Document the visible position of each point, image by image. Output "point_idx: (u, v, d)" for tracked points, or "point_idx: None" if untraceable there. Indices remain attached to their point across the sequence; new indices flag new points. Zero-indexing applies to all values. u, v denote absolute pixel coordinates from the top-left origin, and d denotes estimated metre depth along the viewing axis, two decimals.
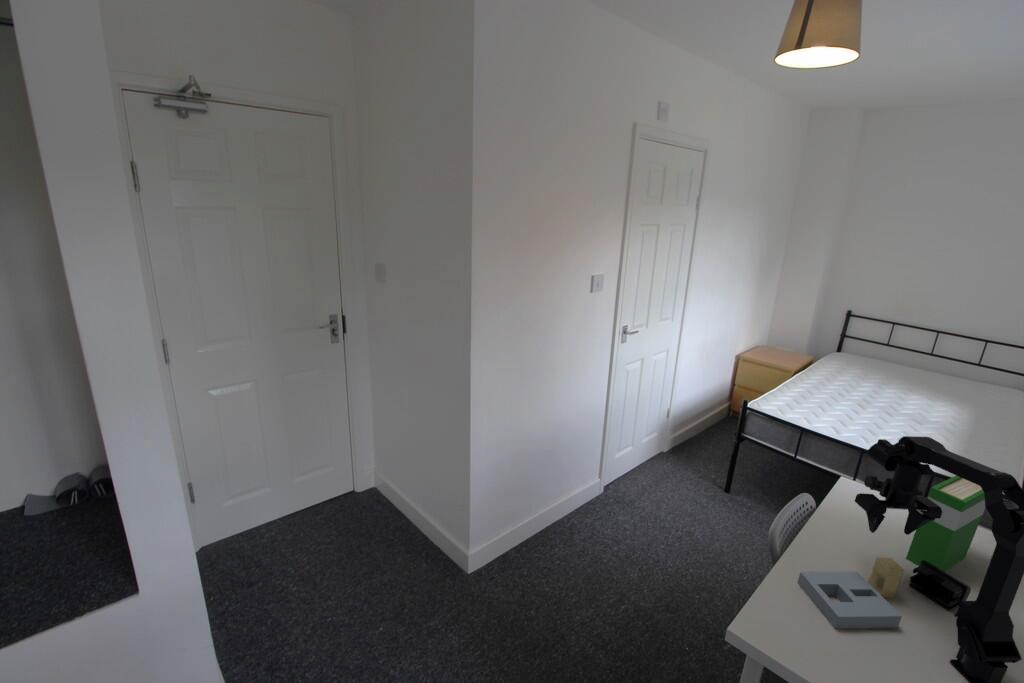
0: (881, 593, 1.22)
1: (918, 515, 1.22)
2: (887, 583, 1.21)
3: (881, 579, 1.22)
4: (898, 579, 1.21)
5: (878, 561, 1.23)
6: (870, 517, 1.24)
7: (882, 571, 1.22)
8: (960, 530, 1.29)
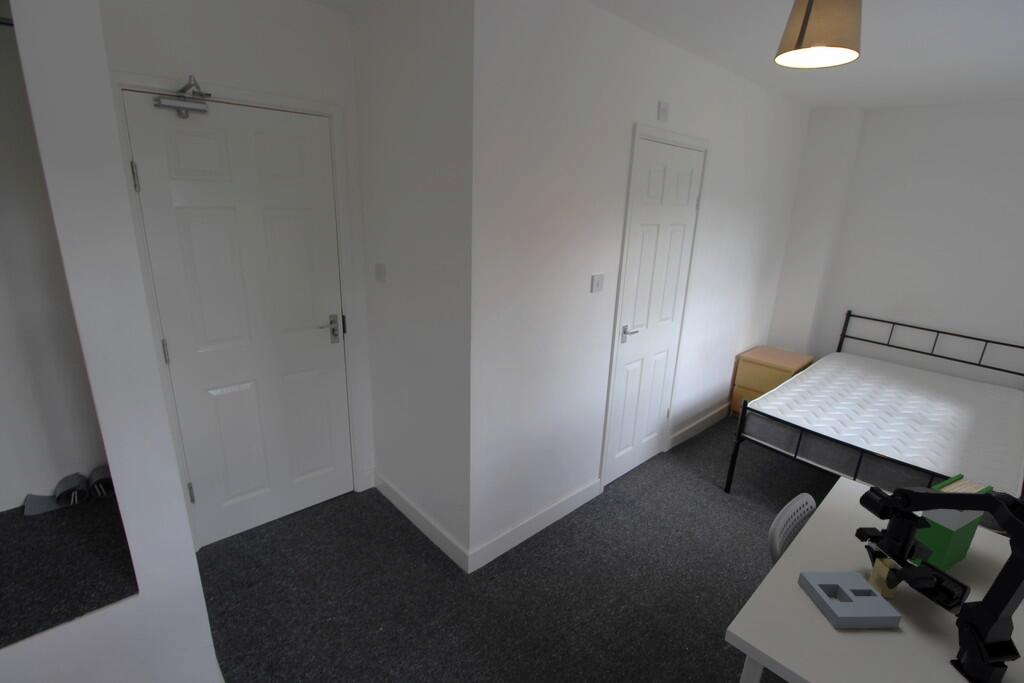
0: (881, 593, 1.22)
1: None
2: (887, 583, 1.21)
3: (881, 579, 1.22)
4: None
5: (878, 561, 1.23)
6: None
7: (882, 571, 1.21)
8: (960, 530, 1.29)
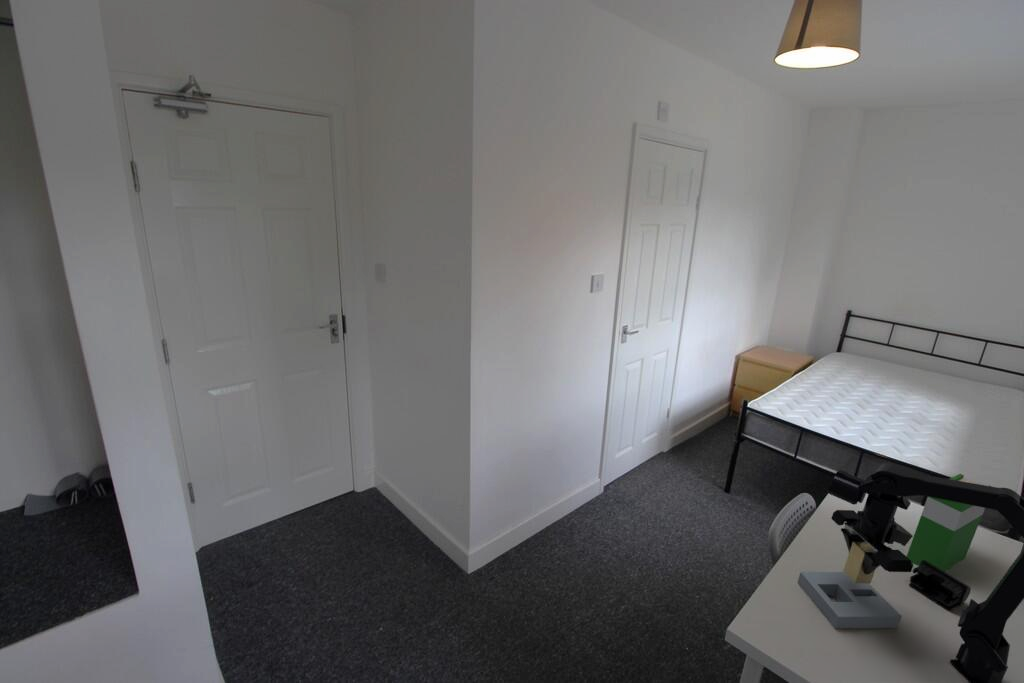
0: (857, 579, 1.15)
1: None
2: (863, 568, 1.14)
3: (857, 564, 1.15)
4: None
5: (854, 545, 1.16)
6: None
7: (858, 556, 1.15)
8: (960, 530, 1.29)
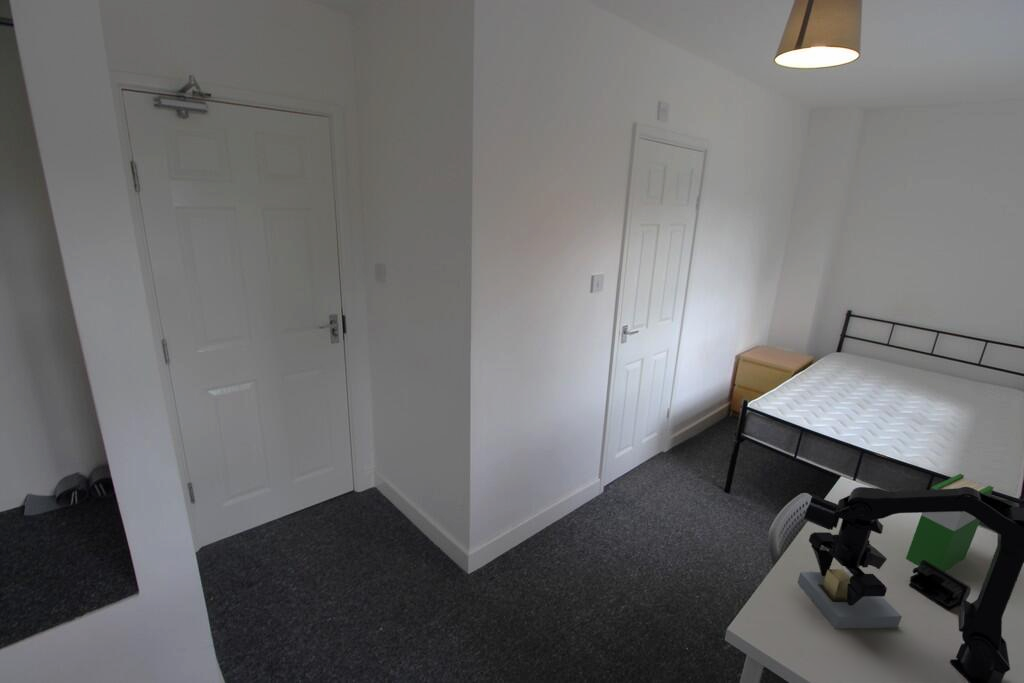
0: None
1: None
2: (837, 596, 1.16)
3: (832, 592, 1.17)
4: None
5: (829, 573, 1.18)
6: None
7: (833, 584, 1.16)
8: (960, 530, 1.29)
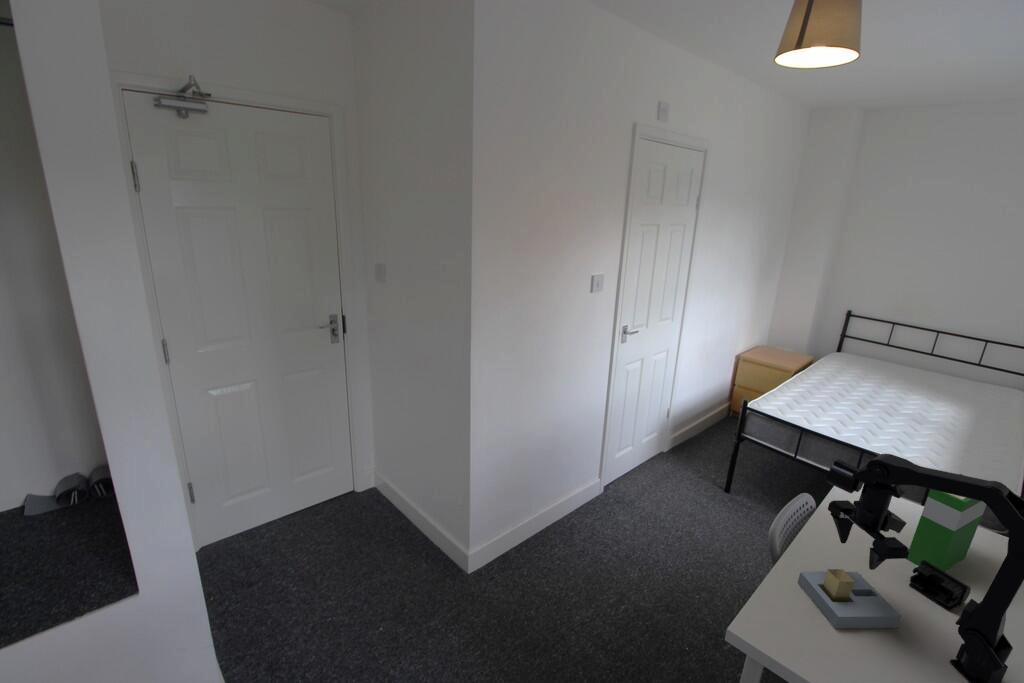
0: None
1: None
2: (838, 596, 1.16)
3: (832, 592, 1.17)
4: (849, 592, 1.16)
5: (829, 573, 1.18)
6: None
7: (833, 584, 1.16)
8: (960, 530, 1.29)
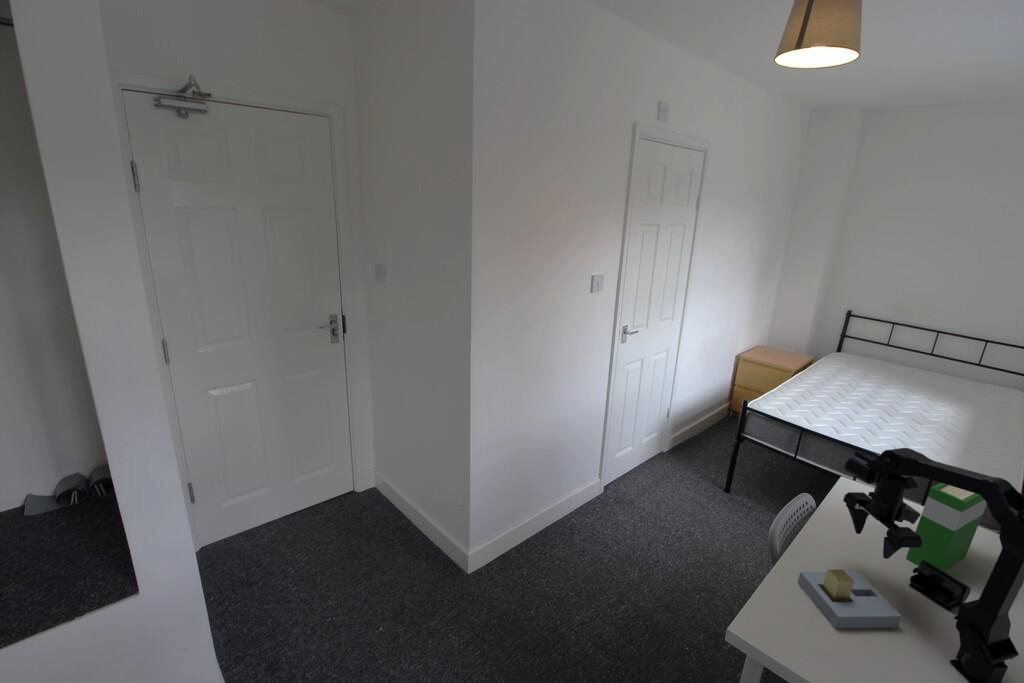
0: None
1: None
2: (837, 596, 1.16)
3: (832, 592, 1.17)
4: (849, 592, 1.16)
5: (829, 573, 1.18)
6: None
7: (833, 584, 1.16)
8: (960, 530, 1.29)
